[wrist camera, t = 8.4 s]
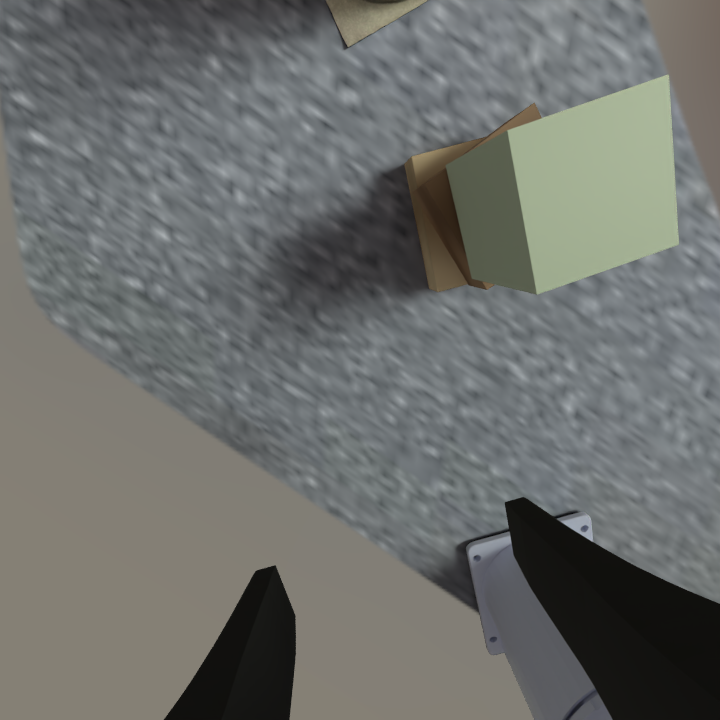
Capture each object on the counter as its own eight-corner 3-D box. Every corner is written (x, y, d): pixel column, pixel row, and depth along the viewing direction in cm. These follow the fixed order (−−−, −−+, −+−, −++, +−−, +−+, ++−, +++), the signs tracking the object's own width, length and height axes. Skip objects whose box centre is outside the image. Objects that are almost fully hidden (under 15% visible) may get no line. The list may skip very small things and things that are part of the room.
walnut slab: (558, 221, 18) (589, 218, 16) (468, 285, 19) (487, 289, 17) (508, 120, 17) (534, 102, 15) (412, 192, 17) (424, 184, 15)
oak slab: (535, 258, 21) (558, 259, 19) (426, 287, 21) (437, 292, 19) (520, 135, 19) (545, 121, 17) (402, 166, 19) (411, 156, 17)
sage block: (572, 243, 16) (678, 244, 12) (471, 278, 16) (536, 294, 12) (556, 126, 15) (668, 74, 10) (445, 165, 15) (507, 130, 10)
